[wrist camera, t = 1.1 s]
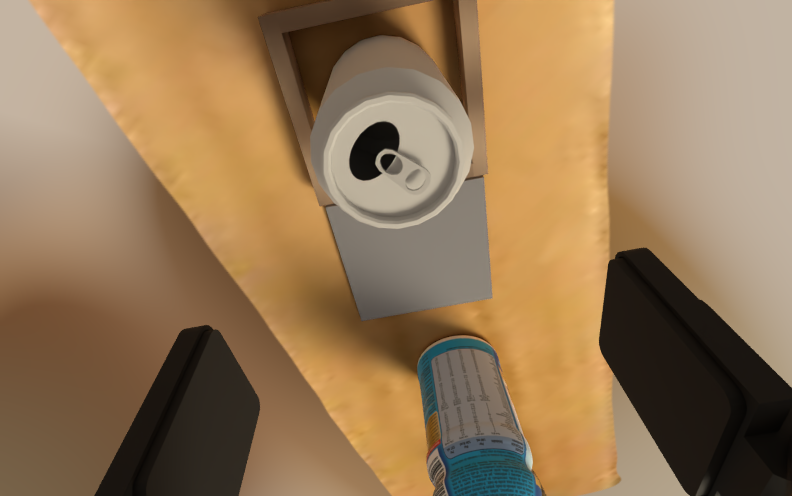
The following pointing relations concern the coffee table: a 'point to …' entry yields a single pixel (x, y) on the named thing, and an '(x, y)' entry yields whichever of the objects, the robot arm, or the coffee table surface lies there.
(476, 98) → the wooden picture frame
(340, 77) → the can
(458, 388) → the beverage bottle
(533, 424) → the coffee table surface
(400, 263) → the mat
